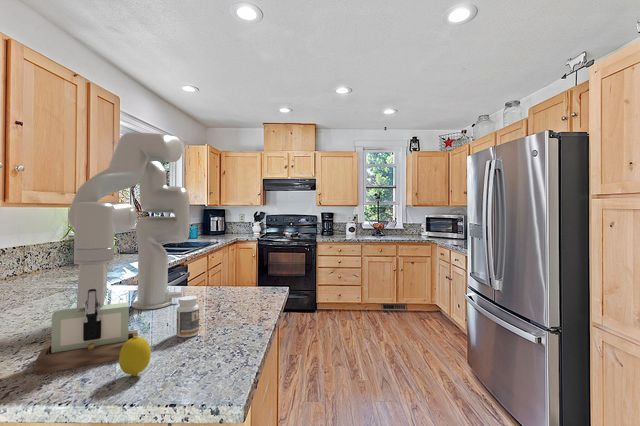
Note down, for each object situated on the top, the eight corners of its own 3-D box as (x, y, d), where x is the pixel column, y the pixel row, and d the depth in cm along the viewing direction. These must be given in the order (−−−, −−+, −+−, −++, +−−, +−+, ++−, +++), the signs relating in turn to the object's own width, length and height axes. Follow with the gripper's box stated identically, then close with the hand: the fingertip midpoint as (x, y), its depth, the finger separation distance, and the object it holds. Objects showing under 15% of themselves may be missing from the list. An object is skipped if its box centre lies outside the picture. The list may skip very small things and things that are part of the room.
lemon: (127, 369, 68) (128, 331, 68) (154, 369, 68) (155, 331, 68) (112, 383, 62) (113, 341, 62) (142, 382, 63) (143, 341, 63)
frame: (127, 335, 79) (128, 302, 79) (128, 340, 76) (128, 306, 76) (54, 346, 72) (55, 310, 72) (51, 353, 69) (52, 315, 69)
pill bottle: (203, 332, 90) (203, 296, 90) (188, 339, 84) (189, 301, 85) (186, 329, 92) (187, 294, 92) (171, 336, 86) (171, 299, 86)
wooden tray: (136, 341, 82) (137, 325, 83) (138, 355, 74) (138, 338, 74) (45, 356, 73) (45, 339, 73) (35, 374, 65) (36, 354, 65)
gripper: (78, 252, 79) (77, 327, 79) (68, 261, 65) (66, 353, 65) (114, 251, 83) (113, 322, 83) (113, 259, 69) (111, 345, 69)
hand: (93, 335), depth 74 cm, fingers closed on frame, 4 cm apart
